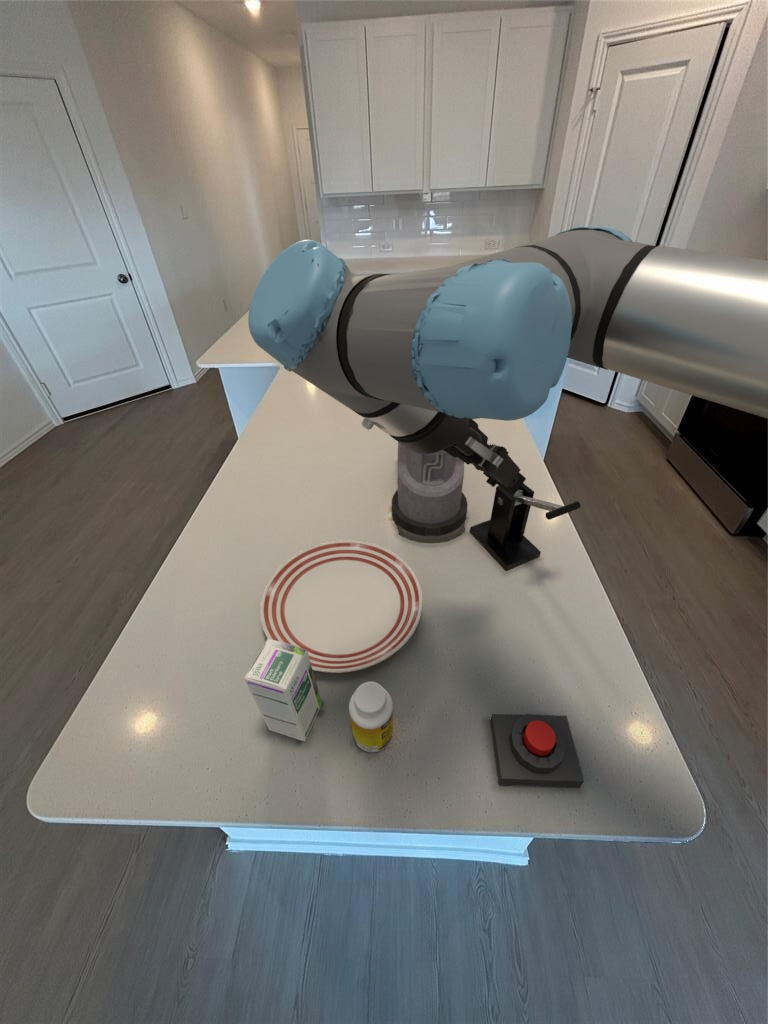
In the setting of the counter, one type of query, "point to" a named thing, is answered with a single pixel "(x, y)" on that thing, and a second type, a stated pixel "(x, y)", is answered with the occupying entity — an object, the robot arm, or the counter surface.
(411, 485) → the grey piece
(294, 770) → the counter surface
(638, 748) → the counter surface
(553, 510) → the lever
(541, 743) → the button
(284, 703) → the syrup box
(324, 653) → the dinner plate
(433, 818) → the counter surface
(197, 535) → the counter surface
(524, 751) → the button block
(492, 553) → the bracket
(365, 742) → the supplement bottle
